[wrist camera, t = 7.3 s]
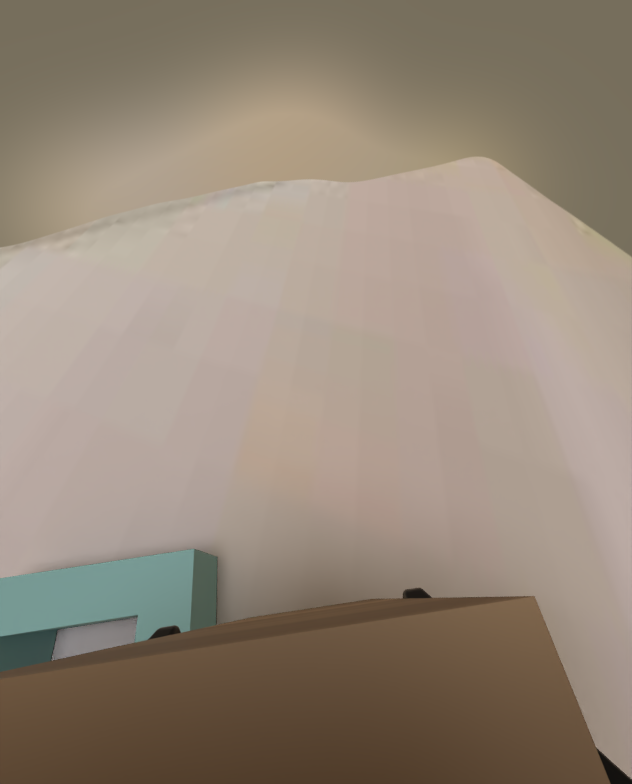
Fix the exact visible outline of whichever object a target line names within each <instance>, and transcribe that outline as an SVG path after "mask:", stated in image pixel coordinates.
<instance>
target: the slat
mask: <svg viewBox="0 0 632 784" xmlns="http://www.w3.org/2000/svg"><path fill="white" fill-rule="evenodd" d="M0 784H611V783H610V781H609V778H608V776H607V774H606V771H605V769H604V766H603V764H602V761H601V759H600V756H599V754H598V751H597V749H596V747H595V744H594V742H593V739H592V737H591V734H590V732H589V729H588V727H587V724H586V722H585V720H584V717H583V715H582V712H581V710H580V707H579V705H578V702H577V700H576V697H575V695H574V692H573V690H572V688H571V685H570V683H569V680H568V678H567V675H566V673H565V670H564V668H563V665H562V663H561V661H560V658H559V656H558V653H557V651H556V648H555V646H554V643H553V641H552V638H551V636H550V634H549V631H548V629H547V626H546V624H545V621H544V619H543V616H542V614H541V611H540V609H539V607H538V604H537V602H536V599H535V597H534V596H524V597H464V598H408V599H369V600H363V601H356V602H350V603H343V604H337V605H330V606H323V607H317V608H310V609H304V610H297V611H291V612H284V613H278V614H271V615H265V616H258V617H251V618H247V619H242V620H237V621H233V622H228V623H224V624H219V625H214V626H210V627H205V628H201V629H196V630H191V631H187V632H182V633H178V634H173V635H168V636H164V637H159V638H154V639H150V640H145V641H141V642H136V643H131V644H127V645H122V646H118V647H113V648H108V649H104V650H99V651H94V652H90V653H85V654H81V655H76V656H71V657H67V658H62V659H58V660H53V661H48V662H44V663H39V664H35V665H30V666H25V667H21V668H16V669H11V670H7V671H2V672H0Z"/></svg>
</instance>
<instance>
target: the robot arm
mask: <svg viewBox="0 0 632 784" xmlns="http://www.w3.org/2000/svg"><path fill="white" fill-rule="evenodd" d="M408 598H432V597H431V596H430V595H428V594H427V593H426V592H425V591H424V590H423V589H421V588H414V589H407V590H405V591H404V592H403V599H408ZM178 633H181V631H180V628H179V627H178V626H176V625H173V626H167V627H161V628H159V629H157V630H156V631H155V632H154V633H153V634H152V636H151V637H150V638H149V639H148V640H150V639H154V638H159V637H164V636H168V635H173V634H178ZM596 749H597V748H596ZM597 751H598V754H599V756H600V759H601V761H602V764H603V766H604V769H605V771H606V774H607V776H608V778H609V781H610V783H611V784H632V779H631V778H629V777H628V776H627V775H626V774H625V773H624V772H623V771H622V770H620V769H619V768H618V767H617V766H616V765H615V764H614V763H612V762H611V761H610V760H609V759H608V758H607V757H606V756H605V755H604V754H603V753H601V752H600V751H599V750H598V749H597Z"/></svg>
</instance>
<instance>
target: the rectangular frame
mask: <svg viewBox="0 0 632 784" xmlns="http://www.w3.org/2000/svg"><path fill="white" fill-rule="evenodd" d="M216 598H217V557H216V556H213V555H210V554H207V553H205V552H202V551H199V550H196V549H190V550H184V551H177V552H171V553H164V554H157V555H151V556H144V557H138V558H131V559H125V560H118V561H111V562H105V563H98V564H92V565H85V566H78V567H72V568H65V569H59V570H52V571H46V572H39V573H32V574H26V575H19V576H13V577H6V578H0V672H2V671H7V670H11V669H16V668H21V667H25V666H30V665H35V664H39V663H44V662H48V661H51V656H52V652H53V647H54V643H55V638H56V634H57V630H59V629H66V628H72V627H78V626H85V625H91V624H97V623H104V622H110V621H116V620H123V619H129V618H135V617H138V619H137V627H136V635H135V643H136V642H141V641H145V640H148V639H149V638H150V637H151V636H152V634H153V633H154V632H155V631H156V630H157V629H159V628H161V627H167V626H173V625H176V626H178V627H179V628H180V631H181V633H182V632H187V631H191V630H196V629H201V628H205V627H210V626H214V625H216Z"/></svg>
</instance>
